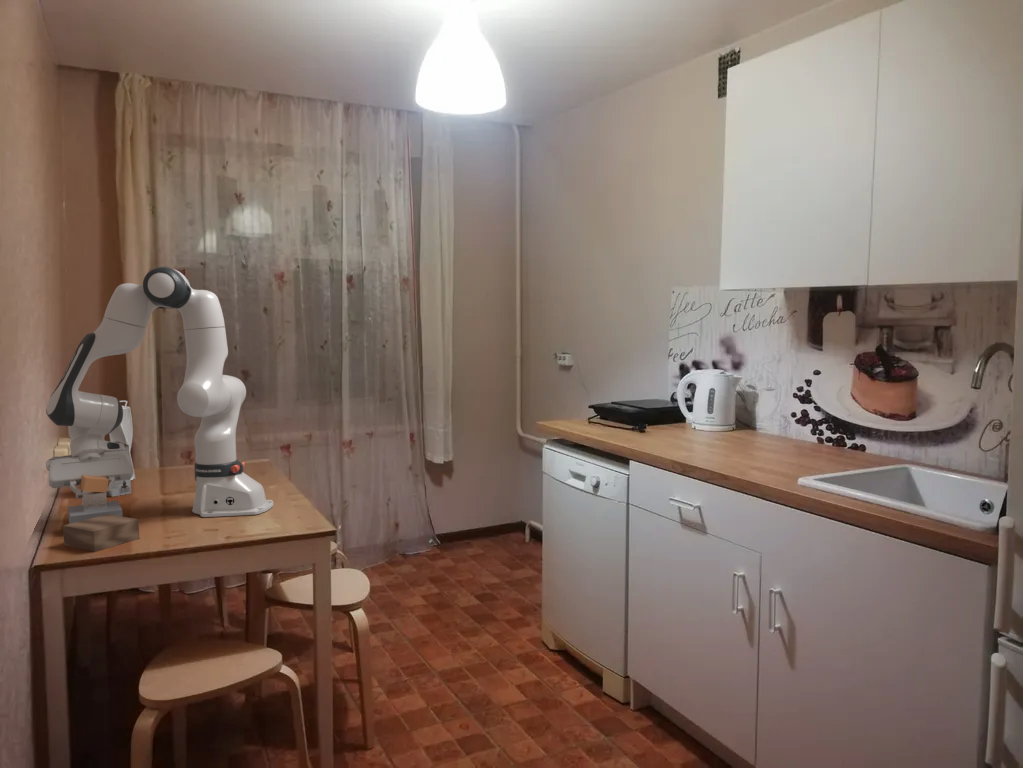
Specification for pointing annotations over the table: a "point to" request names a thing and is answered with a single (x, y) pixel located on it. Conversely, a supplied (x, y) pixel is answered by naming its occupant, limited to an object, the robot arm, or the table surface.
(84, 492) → the housing base
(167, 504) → the table surface
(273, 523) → the table surface
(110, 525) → the stand
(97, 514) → the stand
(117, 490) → the coffee box
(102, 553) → the table surface
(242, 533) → the table surface
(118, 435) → the skyscraper
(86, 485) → the cover
